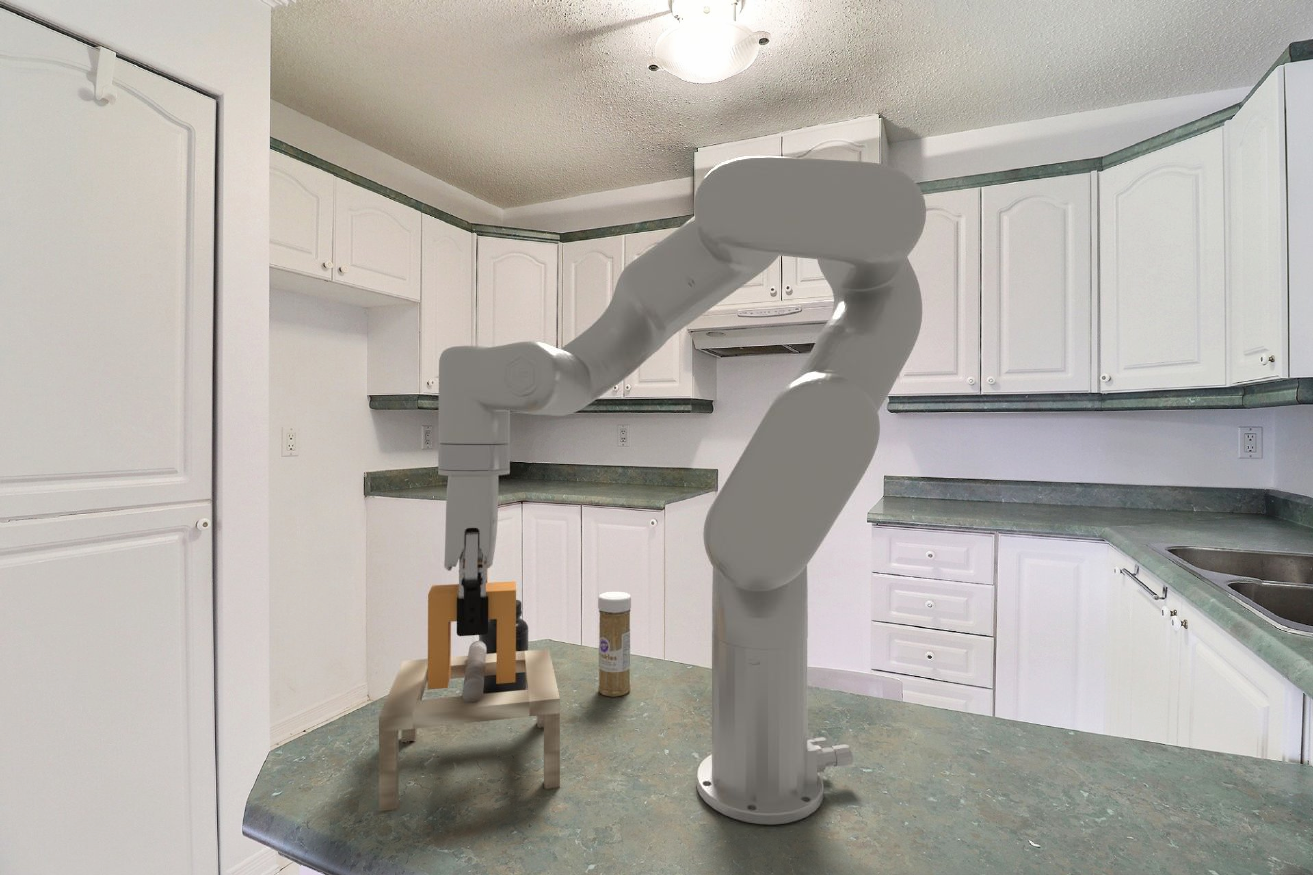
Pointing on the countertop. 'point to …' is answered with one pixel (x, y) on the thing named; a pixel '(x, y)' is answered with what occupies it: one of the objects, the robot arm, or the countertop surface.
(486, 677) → the supplement bottle
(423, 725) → the wooden frame stool
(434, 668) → the orange block
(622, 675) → the sprinkles bottle
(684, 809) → the countertop surface
